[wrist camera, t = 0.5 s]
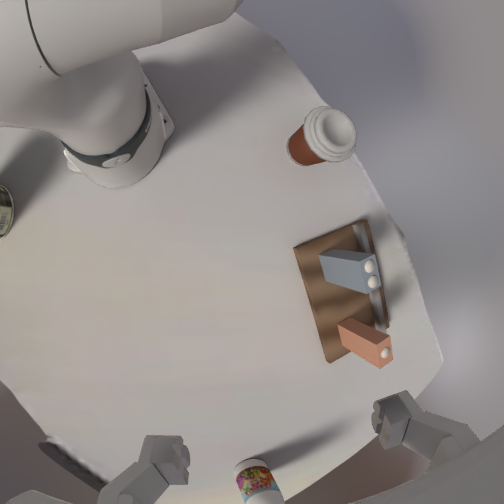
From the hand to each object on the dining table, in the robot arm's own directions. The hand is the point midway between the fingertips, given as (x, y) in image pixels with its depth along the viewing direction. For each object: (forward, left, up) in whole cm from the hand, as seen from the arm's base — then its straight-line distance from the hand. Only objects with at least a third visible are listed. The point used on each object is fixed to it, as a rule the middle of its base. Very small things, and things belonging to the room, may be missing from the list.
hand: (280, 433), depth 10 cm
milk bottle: (+45, -7, -37) cm, 59 cm away
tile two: (+6, +22, -36) cm, 42 cm away
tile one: (+20, +22, -36) cm, 47 cm away
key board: (+13, +25, -37) cm, 47 cm away
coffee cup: (-15, +25, -37) cm, 48 cm away
